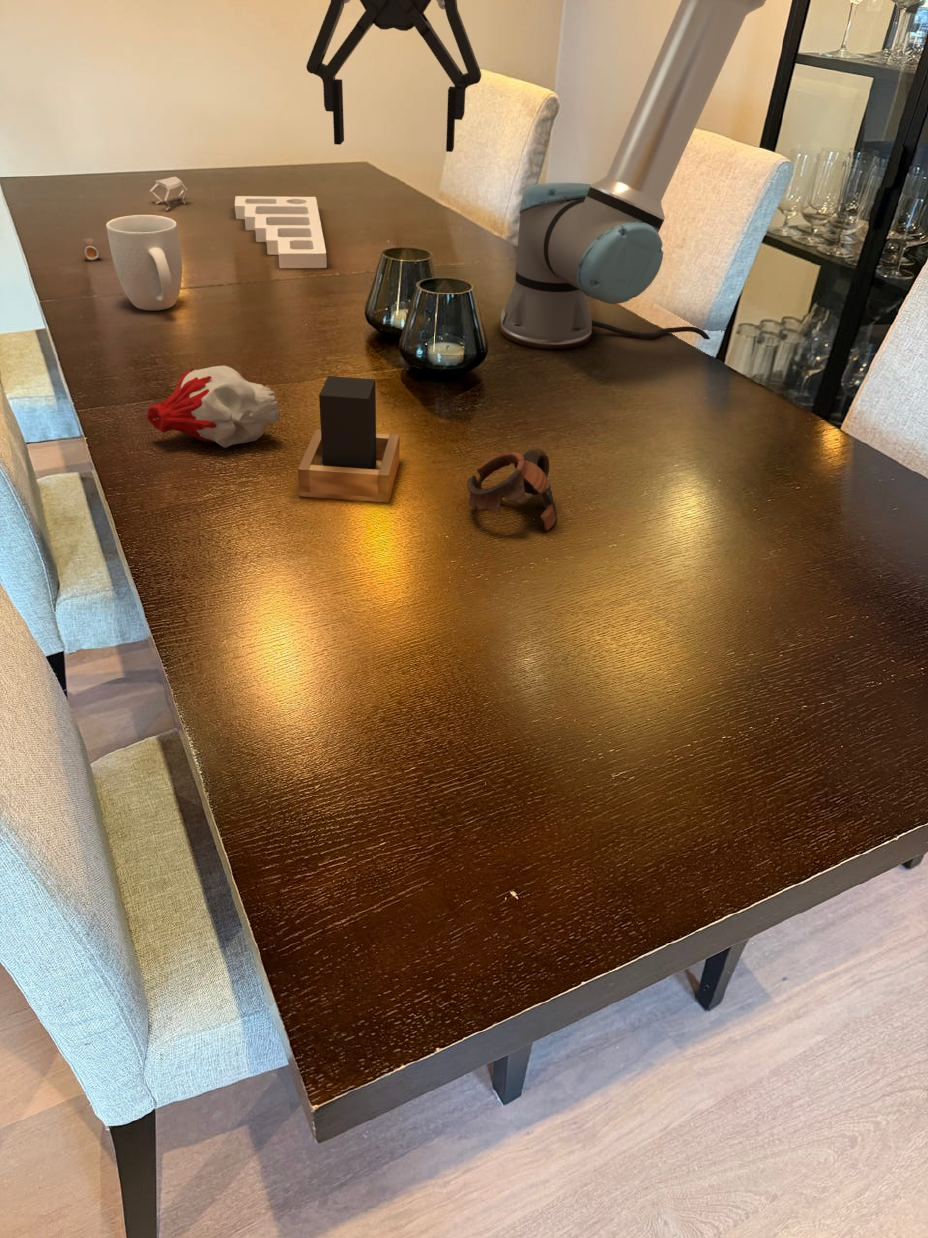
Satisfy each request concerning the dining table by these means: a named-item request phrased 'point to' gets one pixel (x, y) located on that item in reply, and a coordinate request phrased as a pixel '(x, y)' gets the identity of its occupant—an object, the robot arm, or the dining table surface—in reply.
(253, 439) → the white red lumpy piece
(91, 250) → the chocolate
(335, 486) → the open wooden box
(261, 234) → the holder
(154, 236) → the mug
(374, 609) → the dining table surface
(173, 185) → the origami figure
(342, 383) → the black block
